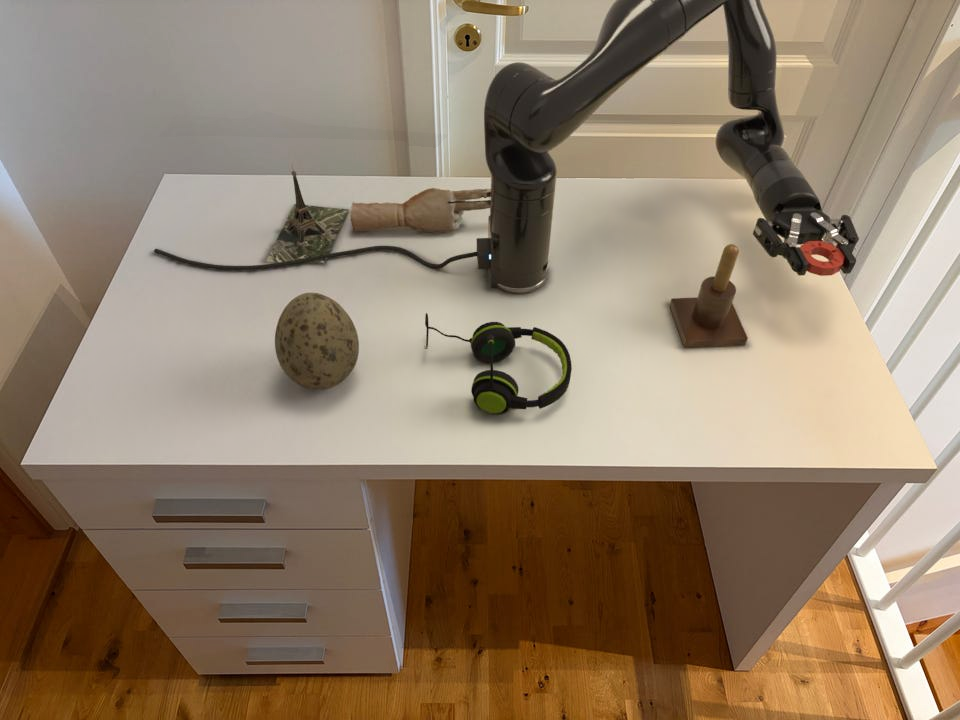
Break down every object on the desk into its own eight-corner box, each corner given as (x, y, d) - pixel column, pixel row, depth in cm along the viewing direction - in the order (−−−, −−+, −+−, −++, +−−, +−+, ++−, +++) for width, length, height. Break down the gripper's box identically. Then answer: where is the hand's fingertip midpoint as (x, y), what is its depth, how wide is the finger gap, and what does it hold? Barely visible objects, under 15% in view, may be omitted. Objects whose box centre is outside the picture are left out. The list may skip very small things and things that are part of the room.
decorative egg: (335, 418, 96) (317, 340, 85) (269, 390, 99) (243, 310, 88) (378, 365, 102) (367, 285, 91) (315, 340, 106) (297, 260, 95)
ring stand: (684, 348, 105) (709, 268, 94) (669, 305, 111) (691, 226, 100) (745, 345, 106) (777, 266, 95) (726, 303, 112) (754, 223, 101)
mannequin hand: (363, 224, 128) (505, 221, 125) (353, 241, 122) (502, 238, 119) (357, 185, 124) (503, 180, 121) (346, 200, 118) (500, 196, 115)
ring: (805, 276, 99) (809, 268, 98) (790, 249, 102) (793, 241, 101) (847, 274, 99) (851, 266, 98) (830, 247, 103) (834, 239, 102)
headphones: (423, 286, 99) (568, 285, 100) (426, 335, 106) (562, 334, 107) (418, 373, 89) (581, 372, 89) (422, 422, 96) (573, 420, 96)
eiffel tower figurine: (326, 266, 117) (313, 197, 107) (265, 261, 117) (246, 191, 108) (349, 211, 127) (339, 142, 117) (293, 206, 127) (278, 138, 118)
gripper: (744, 177, 107) (784, 250, 95) (839, 173, 107) (890, 246, 96) (731, 218, 112) (767, 292, 101) (821, 215, 113) (867, 288, 102)
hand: (827, 269), depth 98 cm, fingers closed on ring, 5 cm apart
